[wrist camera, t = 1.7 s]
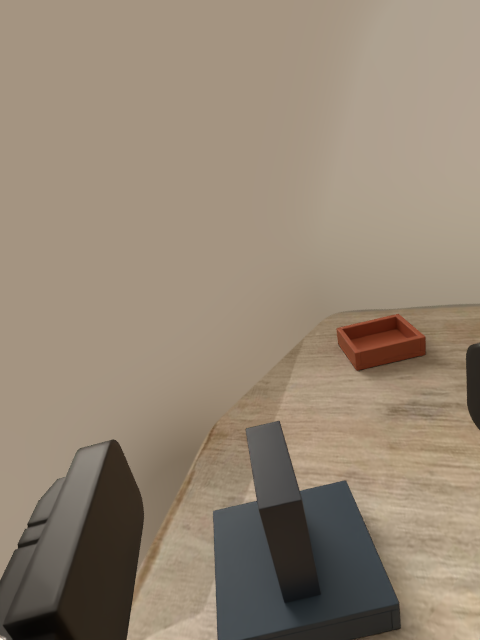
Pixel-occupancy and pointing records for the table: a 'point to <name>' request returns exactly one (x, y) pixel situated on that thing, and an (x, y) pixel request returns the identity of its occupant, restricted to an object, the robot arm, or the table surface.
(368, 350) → the tray
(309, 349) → the table surface
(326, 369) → the table surface
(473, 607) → the table surface
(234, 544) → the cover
